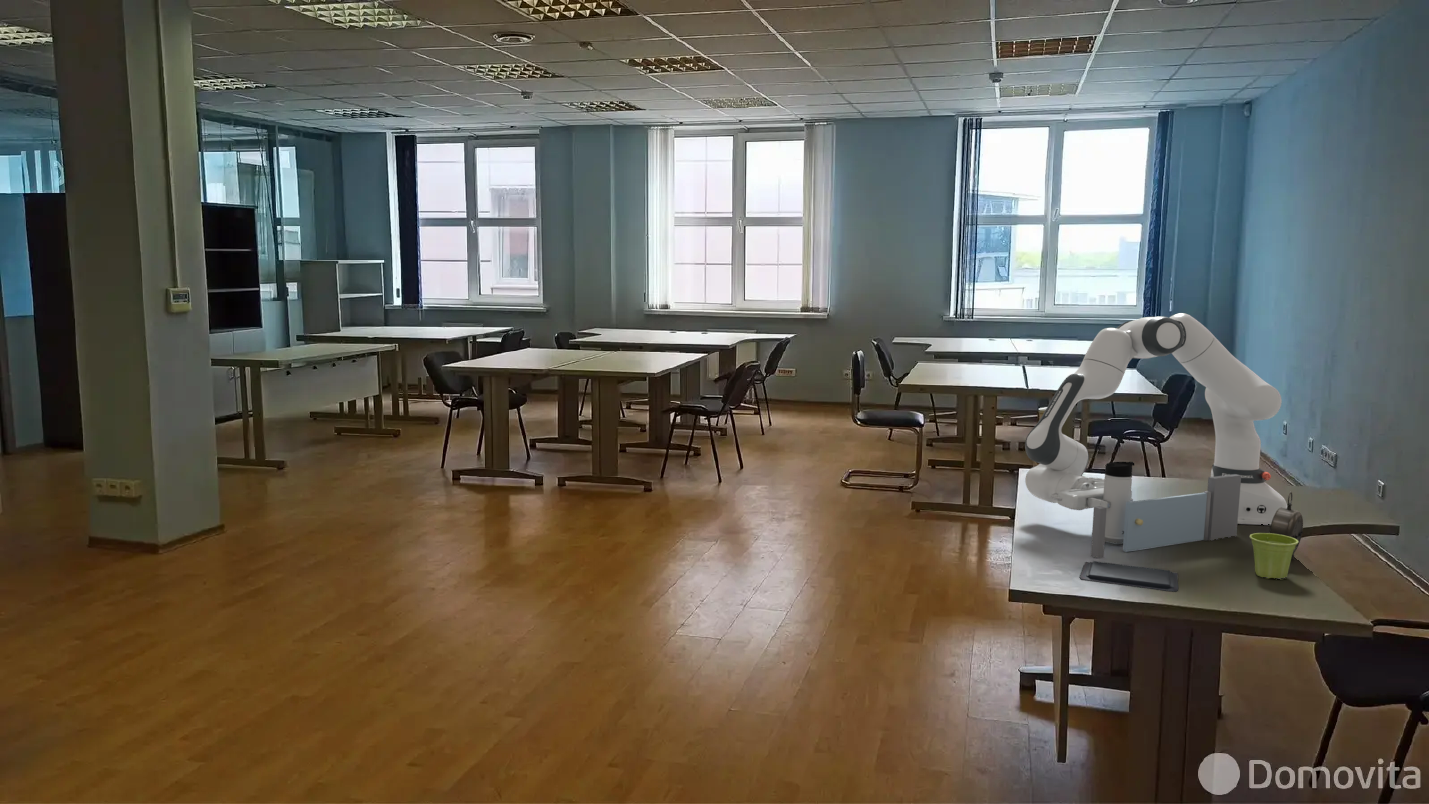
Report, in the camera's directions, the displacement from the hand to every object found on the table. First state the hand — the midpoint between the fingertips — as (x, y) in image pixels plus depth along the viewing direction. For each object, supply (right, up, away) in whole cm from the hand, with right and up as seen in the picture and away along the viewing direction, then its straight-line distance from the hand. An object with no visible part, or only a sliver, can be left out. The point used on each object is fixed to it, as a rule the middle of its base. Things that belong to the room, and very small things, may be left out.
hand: (1119, 504), depth 242 cm
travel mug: (0, -9, +2) cm, 10 cm away
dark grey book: (-8, -14, -25) cm, 30 cm away
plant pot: (+24, -14, -23) cm, 36 cm away
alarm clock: (+35, -12, -9) cm, 39 cm away
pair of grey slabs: (+12, -10, +1) cm, 16 cm away
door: (+12, -10, 0) cm, 16 cm away
